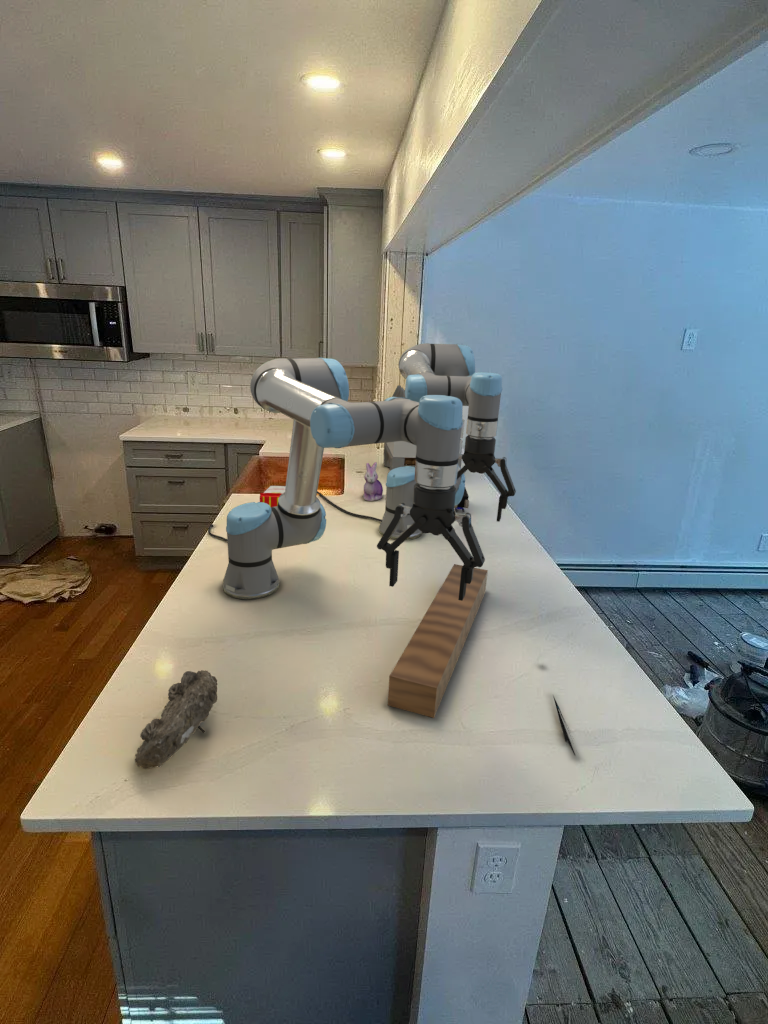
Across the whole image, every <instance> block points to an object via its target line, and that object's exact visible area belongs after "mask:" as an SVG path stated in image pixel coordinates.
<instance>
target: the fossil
mask: <svg viewBox="0 0 768 1024" xmlns="http://www.w3.org/2000/svg"><path fill="white" fill-rule="evenodd" d="M167 698H168V701H167V703H166V705H165V706H164V708H163V709H162V712H161V714H160V718H157V717H156V718H153V719H152V720H151V721H150V722H149V723H147V724H146V725H145V727H144V728H143V729H142V731H141V733H140V738H141V740H142V743H141V744H140V746H139V747H138V748H137V749H136V753H135V755H134V756H135V757H134V762H135V764H136V766H137V767H141V768H142V769H143V770H144V769H145V770H146V769H151V768H156V767H157V768H161V767H162V766H163V765H165V763H166V762H167V761H168V760H169V759H171V758H172V757H173V756H174V755H175V754H177V752H178V751H179V750H180V749H181V748H182V747H184V746H185V744H187V743H188V741H189V739H190V737H191V736H192V735H193V734H195V732H196V731H197V730H199V731H200V732H201V733H202V734H205V733H206V730H205V729H204V728H203V726H201V723H202V722H205V721H206V720H207V718H208V717H209V716H210V712H211V711H212V709H213V707H214V705H215V703H217V702H218V679H217V677H216V676H215V675H212V674H211V672H209V670H206V669H205V670H203V669H202V670H198V671H197V672H195V671H191V670H185V672H183V674H182V677H181V678H180V682H177V683H173V684H172V685H171V686H170V687H169V688H168V693H167Z"/></svg>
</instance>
